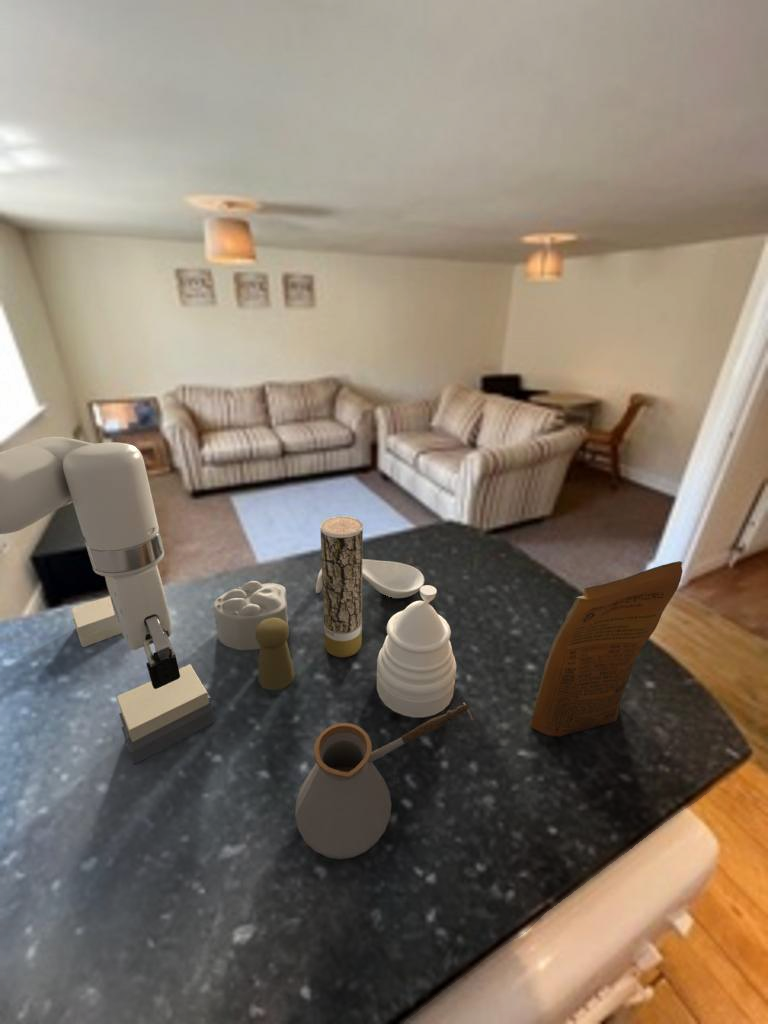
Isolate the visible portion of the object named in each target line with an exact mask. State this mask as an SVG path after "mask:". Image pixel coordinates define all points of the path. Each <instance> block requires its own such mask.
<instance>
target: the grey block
mask: <svg viewBox="0 0 768 1024" xmlns="http://www.w3.org/2000/svg"><path fill="white" fill-rule="evenodd" d="M207 695H208V700H209V704H207V705H205V706H203V707H201V708H199V709H197V710H195V711H193V712H191V713H189V714H187V715H185V716H183V717H181V718H179V719H177V720H175V721H173V722H171V723H169V724H167V725H165V726H163V727H161V728H159V729H157V730H155V731H153V732H151V733H149V734H147V735H146V736H144V737H142V738H140V739H138V740H136V741H134V742H132V740H131V737H130V734H129V732H128V729H127V726H126V723H125V721H124V718H123V715H122V712H120V713H119V718H120V722H121V724H122V726H121V731H122V734H123V737H124V740H125V743H126V746H127V748H128V751H129V754H130V757H131V761H132V763H133V765H137V764H138V763H141V762H143V760H146V759H148V758H149V757H152V756H153V755H156V754H157V753H159V752H161V751H163V750H164V749H165V750H166V749H167V748H169V747H170V746H172V745H174V744H176V743H178V742H180V741H181V740H183V739H185V738H188V737H189V736H192V734H195V733H196V732H199V731H201V730H202V729H204V728H207V727H208V726H210V725H211V724H214V723H215V716H214V711H213V705H212V700H211V696H210V695H209V693H208V692H207Z"/></svg>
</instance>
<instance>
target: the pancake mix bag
mask: <svg viewBox="0 0 768 1024" xmlns="http://www.w3.org/2000/svg"><path fill="white" fill-rule="evenodd" d="M683 572H684V571H683V561H679V560H678V561H673V562H669V563H666V564H665V563H664V564H661V565H659V566H655V567H652V568H649V569H645V570H643V571H640V572H638V573H634V574H633V575H630V576H627V577H624V578H620V579H617V580H613V581H609V582H606V583H603V584H597V585H592V586H589V587H584V591H583V595H581V596H580V595H579V596H576V597H575V599H574V601H573V604H572V605H571V607H570V609H569V611H568V613H567V614H566V616H565V619H564V621H563V623H562V624H561V626H560V627H559V629H558V632H557V633H556V635H555V637H554V640H553V642H552V644H551V646H550V650H549V653H548V656H547V659H546V662H545V664H544V669H543V674H542V676H541V683H540V686H539V690H538V693H537V696H536V701H535V705H534V712H533V715H532V718H531V721H530V722H529V725H528V727H529V728H531V729H533V730H536V731H537V732H540V733H542V734H543V735H546V736H548V737H549V736H550V737H557V738H558V737H559V738H560V737H563V736H564V737H565V736H568V735H571V734H575V733H579V732H584V731H585V730H586V729H587V730H590V729H593V728H596V726H597V727H600V725H601V726H606V725H610V724H613V723H612V722H614V723H616V721H617V719H618V717H619V714H620V713H619V712H620V707H621V702H622V699H623V696H624V693H625V690H626V687H627V684H628V681H629V679H630V676H631V674H632V671H633V668H634V665H635V663H636V661H637V658H638V655H639V653H640V651H641V650H642V648H643V647H644V646H645V644H646V643H647V641H648V640H649V639H650V638H651V636H652V635H653V633H654V632H655V630H656V629H657V626H658V625H659V622H660V620H661V617H662V615H663V613H664V611H665V609H666V608H667V606H668V604H669V603H670V601H671V600H672V599H673V597H674V595H675V594H676V592H677V590H678V588H679V585H680V583H681V580H682V576H683ZM609 723H610V724H609ZM605 724H606V725H605Z"/></svg>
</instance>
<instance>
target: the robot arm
mask: <svg viewBox="0 0 768 1024" xmlns="http://www.w3.org/2000/svg"><path fill="white" fill-rule="evenodd" d="M148 477H149V476H148V472H147V468H146V464H145V460H144V457H143V454H142V453H141V451H140V449H138V448H137V447H136V446H134V445H132V444H130V443H124V442H116V441H115V442H114V441H113V442H99V443H94V442H90V441H89V442H88V441H84V440H79V439H75V438H70V437H67V436H66V437H65V436H44V437H41V438H37V439H34V440H31V441H28V442H26V443H23V444H21V445H17V446H14V447H11V448H8V449H6V450H3V451H2V450H1V451H0V535H7V534H11V533H16V532H19V531H21V530H24V529H25V528H27V527H29V526H32V525H34V524H35V523H36V522H38V521H40V520H42V519H43V518H45V517H46V516H48V515H50V514H51V513H53V512H55V511H57V510H59V509H61V508H63V507H66V506H68V505H71V504H73V507H74V510H75V514H76V518H77V520H78V521H77V522H78V524H79V527H80V530H81V534H82V537H83V541H84V544H85V547H86V550H87V553H88V557H89V560H90V564H91V566H92V570H93V572H94V573H95V574H97V575H99V576H101V577H104V578H105V579H104V580H105V585H106V587H107V591H108V595H109V596H110V598H111V602H112V606H113V610H114V614H115V618H116V620H117V623H118V625H119V627H120V630H121V632H122V633H121V634H122V636H123V638H124V640H125V642H126V645H127V647H128V648H129V649H130V650H131V651H137V650H138V649H141V648H143V651H144V652H145V655H146V658H147V662H146V663H145V664H146V668H147V671H148V675H149V679H150V682H152V686H153V688H154V689H158V688H160V687H162V686H164V685H166V684H168V683H171V682H173V681H175V680H177V679H179V678H180V672H179V669H180V668H179V665H178V659H177V656H176V653H175V651H174V648H173V646H172V643H171V640H170V638H169V637H171V636H172V634H173V626H172V620H171V615H170V611H169V610H170V609H169V606H168V602H167V598H166V593H165V589H164V586H163V582H162V581H163V580H162V578H161V573H160V571H159V567H158V564H159V563H160V562H161V561H162V560H163V558H164V556H165V549H164V545H163V540H162V536H161V532H160V528H159V522H158V518H157V514H156V509H155V503H154V500H153V496H152V490H151V487H150V482H149V478H148ZM152 644H153V646H154V648H155V652H152V649H151V647H150V645H152Z"/></svg>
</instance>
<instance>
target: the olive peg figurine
mask: <svg viewBox="0 0 768 1024" xmlns="http://www.w3.org/2000/svg"><path fill="white" fill-rule="evenodd" d="M255 633H256V640H257V642H258V643H259V645H260V649H259V657H258V672H257V673H258V675H257V681H258V683H259V685H260V687H262V688H263V689H266V690H269V691H278V690H283V689H285V688H286V687H288V686H289V685H290V684H291V683H292V682H293V681H294V679H295V674H296V673H295V669H294V666H293V661H292V656H291V653H290V649H289V645H288V641H287V640H288V639H289V637H288V635H290V629H289V624H288V625H287V624H286V622H285V621H284V620H282V619H280V618H268V619H265V620H263V621H262V622H261V623H260V624H259V625H258V626H257V629H256V632H255Z"/></svg>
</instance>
